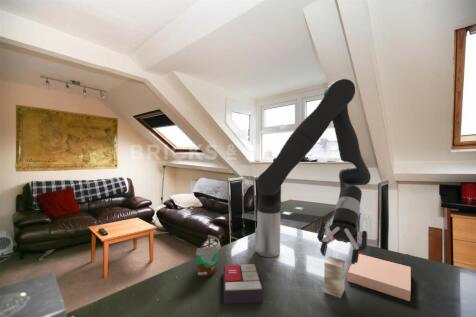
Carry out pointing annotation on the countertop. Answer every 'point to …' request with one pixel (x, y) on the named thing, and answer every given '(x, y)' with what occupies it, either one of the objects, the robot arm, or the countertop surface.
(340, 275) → the ash block
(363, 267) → the plinth
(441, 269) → the countertop surface
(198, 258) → the food container
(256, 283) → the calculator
